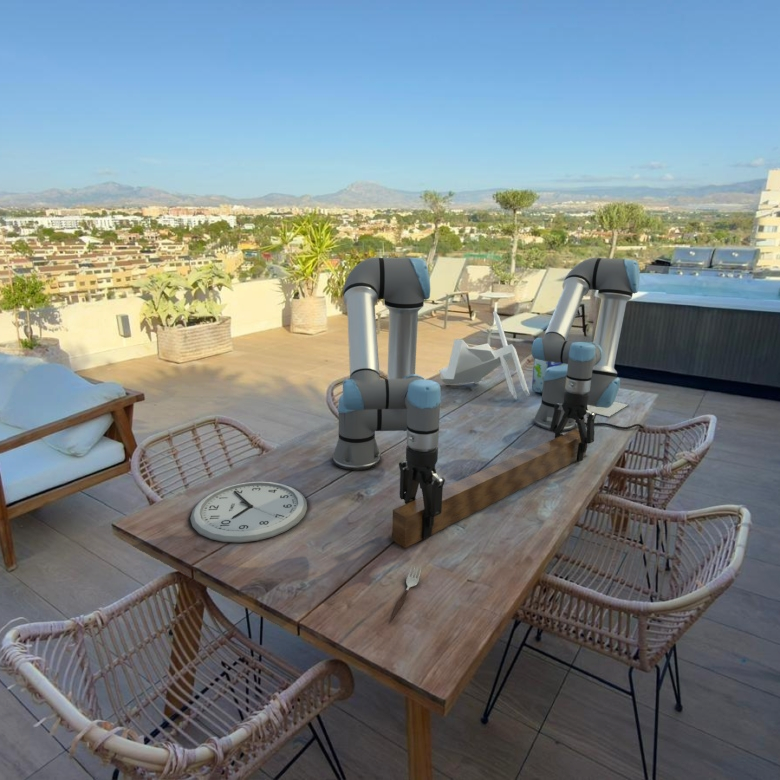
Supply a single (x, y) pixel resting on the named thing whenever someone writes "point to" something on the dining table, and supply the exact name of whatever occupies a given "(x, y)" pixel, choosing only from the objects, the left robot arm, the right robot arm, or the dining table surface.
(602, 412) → the invitation card
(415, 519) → the beam
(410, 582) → the fork
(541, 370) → the lunch box
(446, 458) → the dining table surface
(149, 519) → the dining table surface
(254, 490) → the wall clock
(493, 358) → the white plastic object
